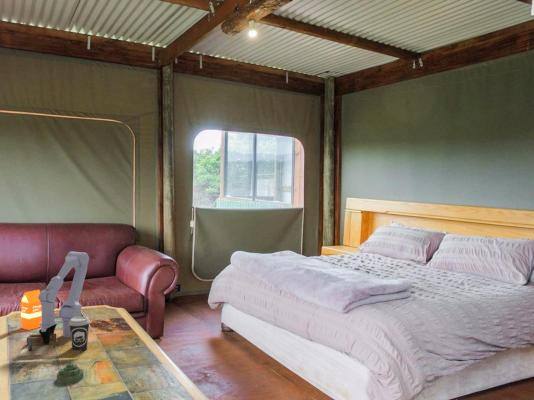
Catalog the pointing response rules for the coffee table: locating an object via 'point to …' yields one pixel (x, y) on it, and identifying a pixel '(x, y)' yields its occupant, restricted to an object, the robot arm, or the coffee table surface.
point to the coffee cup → (79, 332)
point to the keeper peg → (30, 345)
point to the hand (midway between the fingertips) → (48, 341)
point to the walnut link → (38, 339)
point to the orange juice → (30, 310)
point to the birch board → (36, 350)
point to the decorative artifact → (69, 374)
